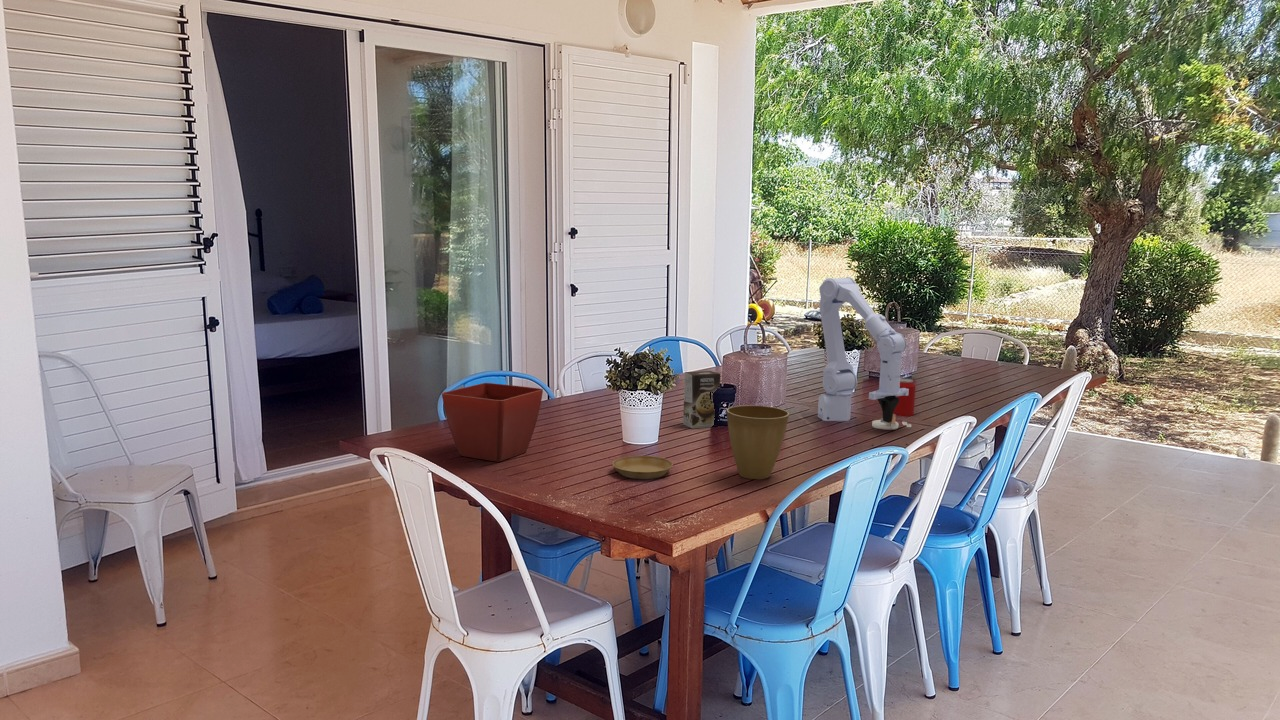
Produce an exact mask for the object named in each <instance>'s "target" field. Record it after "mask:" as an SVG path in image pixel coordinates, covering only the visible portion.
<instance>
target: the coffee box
mask: <svg viewBox="0 0 1280 720" xmlns="http://www.w3.org/2000/svg"><path fill="white" fill-rule="evenodd" d="M718 386H720V387H718ZM717 388H720V389H721V373H720V372H717V371H716V372H715V371H713V370H704V371H703V370H702V371H685V372H684V388H683V389H684V390H683V391H684V392H683V393H684V394H683V411H682V412H683V413H682V414H683V416H682V417H683V418H682V422H683V423H682V425H683V426H685V427H688V428H690V429H692V430H693V429H702V428H704V429H705V428H713V427H712V426H713V425H714V420H715V418H714V417H715V409H714V403H713V393H714V392H715V391H716V390H717ZM710 392H711V399H710ZM712 392H713V393H712Z"/></svg>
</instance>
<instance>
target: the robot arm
mask: <svg viewBox="0 0 1280 720" xmlns="http://www.w3.org/2000/svg"><path fill="white" fill-rule="evenodd" d="M818 288H819V294H820V295H819V296H820V300H819V312H820V319H821V326H822V332H823V338H824V346H825V351H826V357H827V365H826V366H825V367H824V368H823V370H822V373H823V375H822V376H823V378H822V381H821V382H822V387H823V390H824V391H825V393H821V394H819V396H818V400H817V402H818V404H817V405H818V406H817V418H819V419H821V420H822V421H823V422H848V421H850V420H851V411H852V409H851V407H852V394H854V390H855V389H856V388H857V386H858V378H857V375H856V373H855V372H854V368H853V367H854V366H853V365H852V364H851V363H850V362H848V361H847V356H846V349H845V344H844V343H845V342H844V338H843V337H844V335H843V329H842V324H841V316H840V309H841V308H842V306H843V305H844V304H845V303H849V304H850V305H851V307H852V308H853V309H854V310H855V311H856V312H857V313H858V314H859V315H860V317H862V319H863V320H864V321H865V322H864V327H865V329H866V330H867V331H868V332H869V334H870V335H871V336H872V337H873V339H874V340H875V341H876V342H877V343H876V347H877V351H878V352H879V358H880V366H879V383H878V389H877V390H873V391H870V392H868V400H872V401H875V400H877V401H878V403H879V405H880V407H881V410H882V418H883V421H884V422H888V423H889V422H892V417H893V412H894V409H895V408H896V406H897V404H898V403H899V398H896V396H903V395H905V396H908V394H909V389H906V388H900V379H901V370H902V354H903V352H905V351H906V348H907V340H906V338H905V336H904V334H902V333H900V332H897V331H896V330H895V329H894V328H892V326H891V325H890V324H889V323H888V322H887V320H886V319H887V318H886V317H885V315H882V314H880V313H875V311H874V310H873V309H872V307H871V305H870V304H869V303H868V301H867V300H866V298H865V297H864V296H863V294H862V292H861V291H860V286H859V284H858V283H857V282H856V281H855V280H854V278H852V277H850V276H848V277H847V276H846V277H836V278H835V277H834V278H832V277H828V278H825V279H824V280H823V282H822V283H821V284H820V286H819V287H818Z"/></svg>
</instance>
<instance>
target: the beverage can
mask: <svg viewBox="0 0 1280 720" xmlns="http://www.w3.org/2000/svg"><path fill="white" fill-rule="evenodd" d="M900 388H906V389H909V394H908V396H905V395H903V396H896V398H899V403H898V404H897V406H896V408H895V409H894V412H893V414H896V416H900V417H911V416H914V414H915V401H916V400H915V399H916V397H915V396H916V383H915V382H914V380H913V379H912V378H900Z"/></svg>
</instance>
